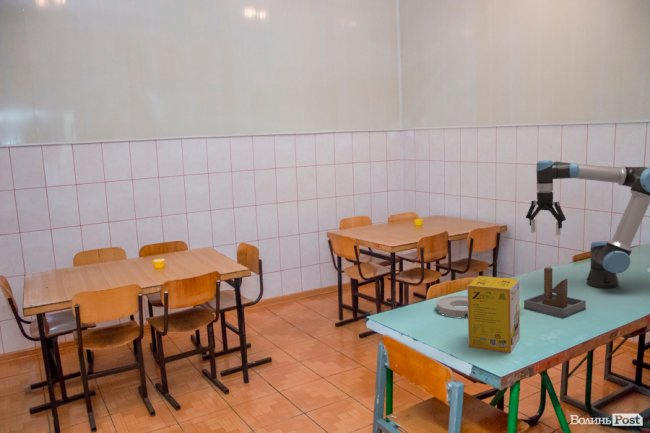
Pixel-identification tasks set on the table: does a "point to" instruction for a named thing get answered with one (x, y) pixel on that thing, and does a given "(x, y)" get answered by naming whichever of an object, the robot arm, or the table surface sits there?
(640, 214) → the robot arm
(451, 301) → the ashtray
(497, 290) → the packaging box
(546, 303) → the brown round-handled part
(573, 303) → the tray
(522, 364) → the table surface
